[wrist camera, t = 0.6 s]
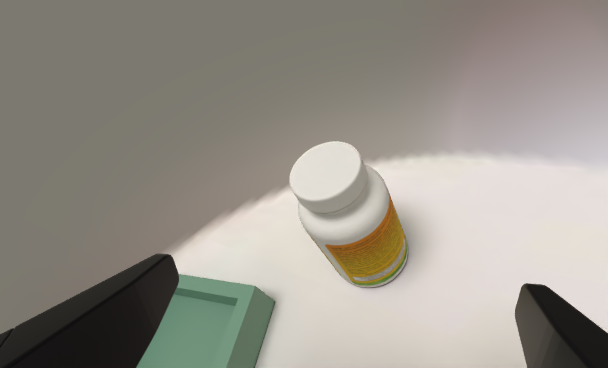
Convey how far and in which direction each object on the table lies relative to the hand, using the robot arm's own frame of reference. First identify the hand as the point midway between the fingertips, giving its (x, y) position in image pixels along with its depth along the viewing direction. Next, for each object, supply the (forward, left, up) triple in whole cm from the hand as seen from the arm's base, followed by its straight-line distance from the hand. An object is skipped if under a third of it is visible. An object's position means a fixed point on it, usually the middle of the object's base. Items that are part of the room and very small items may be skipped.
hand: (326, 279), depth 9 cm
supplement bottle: (+7, +4, -14) cm, 16 cm away
